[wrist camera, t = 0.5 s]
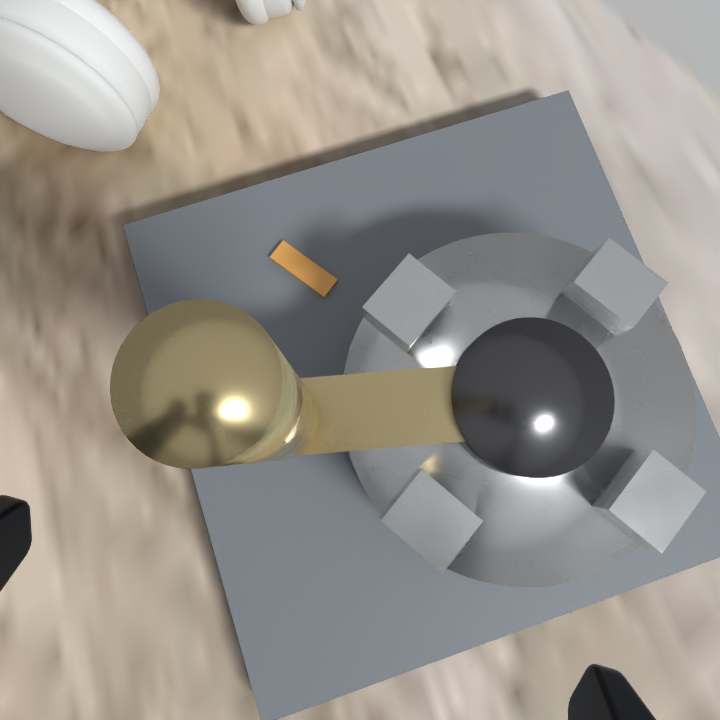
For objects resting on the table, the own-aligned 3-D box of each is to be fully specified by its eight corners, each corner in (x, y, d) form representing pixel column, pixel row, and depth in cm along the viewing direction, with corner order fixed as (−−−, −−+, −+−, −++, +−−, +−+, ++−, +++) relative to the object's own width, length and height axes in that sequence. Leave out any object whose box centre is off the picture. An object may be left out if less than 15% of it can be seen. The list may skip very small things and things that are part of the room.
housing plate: (737, 534, 23) (768, 541, 21) (268, 706, 21) (261, 727, 20) (555, 111, 26) (570, 87, 24) (137, 238, 24) (120, 222, 23)
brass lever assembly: (622, 250, 23) (982, -21, 10) (673, 553, 21) (1212, 722, 8) (250, 279, 22) (106, 36, 9) (267, 590, 20) (113, 834, 7)
